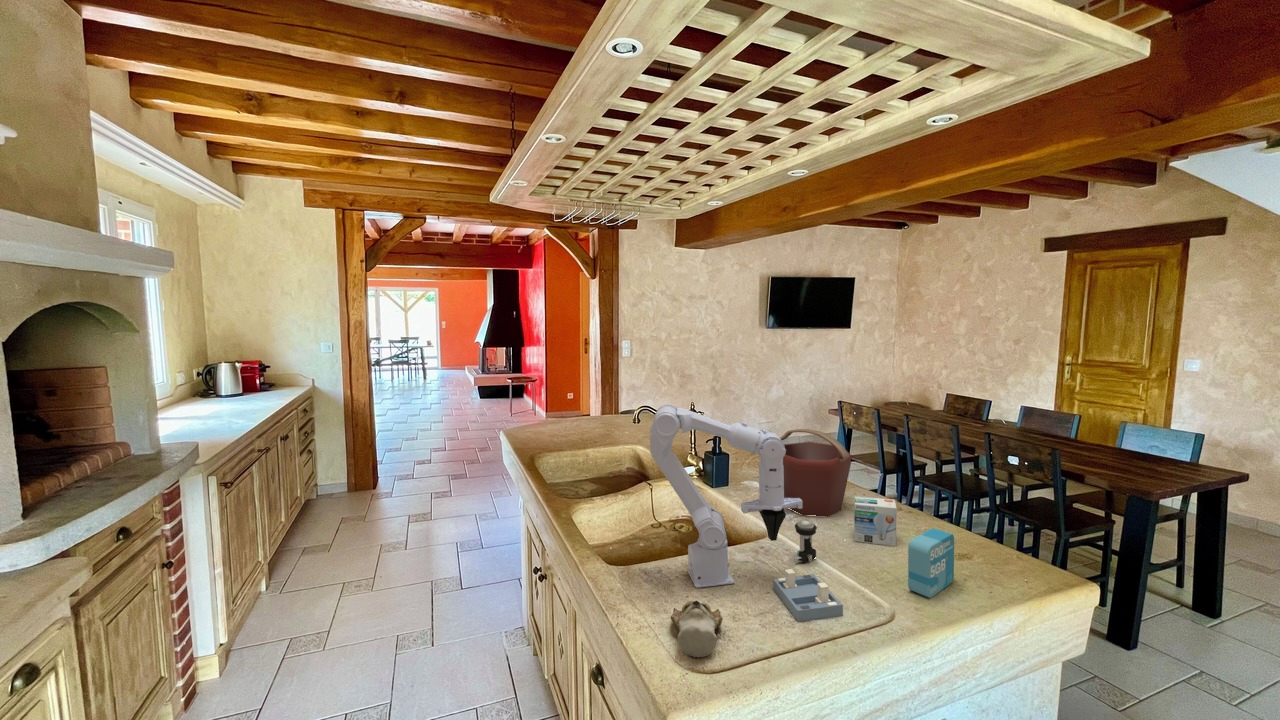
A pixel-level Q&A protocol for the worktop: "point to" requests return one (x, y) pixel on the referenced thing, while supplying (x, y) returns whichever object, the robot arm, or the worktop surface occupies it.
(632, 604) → the worktop surface
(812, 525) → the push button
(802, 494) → the bucket
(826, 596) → the tab near
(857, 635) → the worktop surface
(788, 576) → the tab far
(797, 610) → the dip bank
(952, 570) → the data package
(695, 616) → the ceramic sculpture
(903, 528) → the worktop surface
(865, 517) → the light bulb box
